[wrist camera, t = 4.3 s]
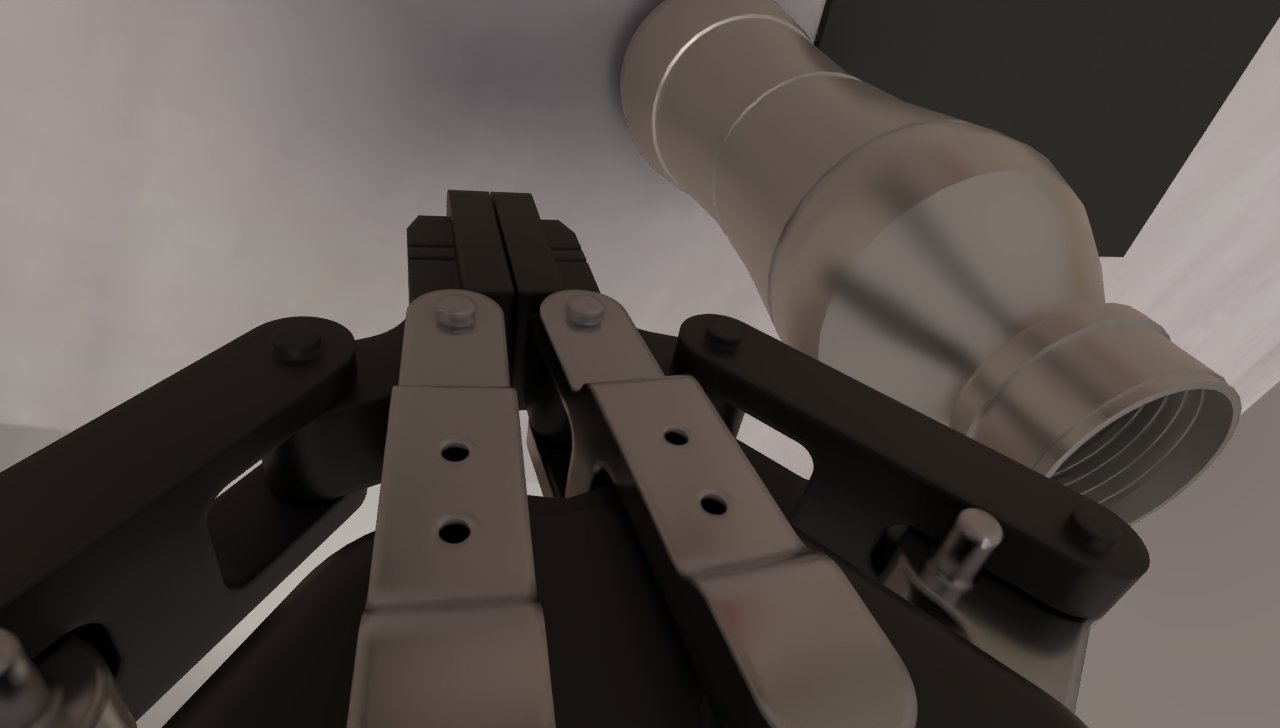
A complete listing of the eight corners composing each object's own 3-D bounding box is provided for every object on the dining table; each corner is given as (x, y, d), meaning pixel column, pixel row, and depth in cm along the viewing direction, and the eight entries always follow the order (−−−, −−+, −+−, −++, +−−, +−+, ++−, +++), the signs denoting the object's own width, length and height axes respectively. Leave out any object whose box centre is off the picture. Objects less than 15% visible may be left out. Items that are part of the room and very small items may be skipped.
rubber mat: (867, -137, 23) (873, -136, 22) (1305, -39, 30) (1314, -37, 29) (754, 246, 31) (757, 250, 31) (1117, 253, 38) (1123, 257, 38)
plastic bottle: (699, -78, 22) (1319, 180, 8) (810, 67, 26) (1355, 422, 12) (567, 79, 24) (854, 533, 9) (689, 192, 28) (1024, 634, 13)
